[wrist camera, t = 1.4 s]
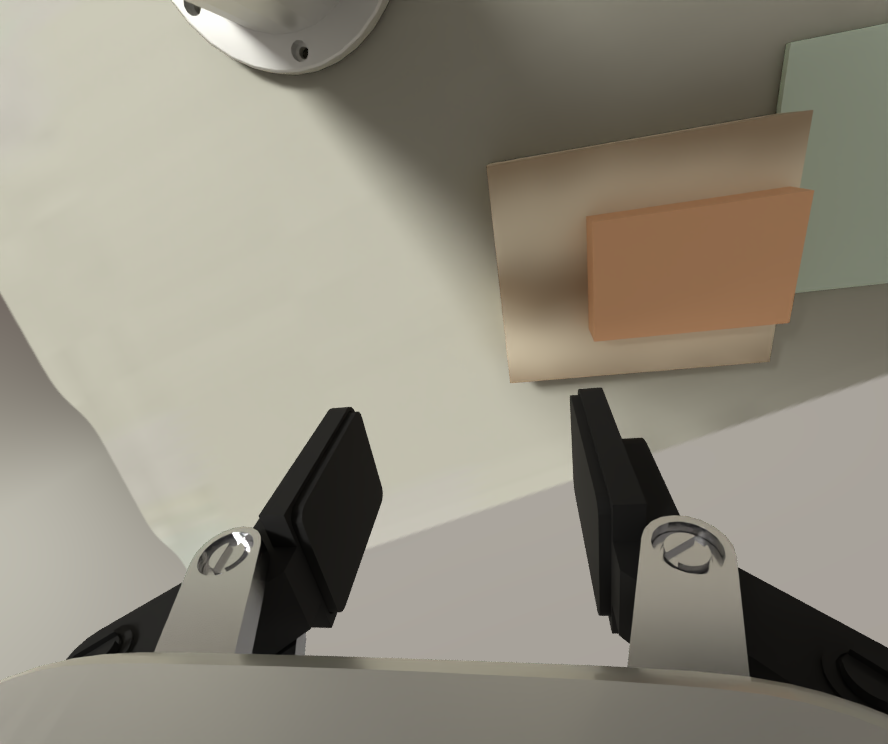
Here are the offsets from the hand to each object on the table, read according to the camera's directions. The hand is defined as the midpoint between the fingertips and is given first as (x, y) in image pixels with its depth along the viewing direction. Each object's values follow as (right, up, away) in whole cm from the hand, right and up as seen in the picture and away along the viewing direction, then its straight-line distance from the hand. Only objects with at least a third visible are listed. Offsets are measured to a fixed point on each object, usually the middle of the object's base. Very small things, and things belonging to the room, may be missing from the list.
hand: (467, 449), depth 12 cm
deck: (+10, +9, +14) cm, 19 cm away
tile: (+11, +7, +11) cm, 17 cm away
